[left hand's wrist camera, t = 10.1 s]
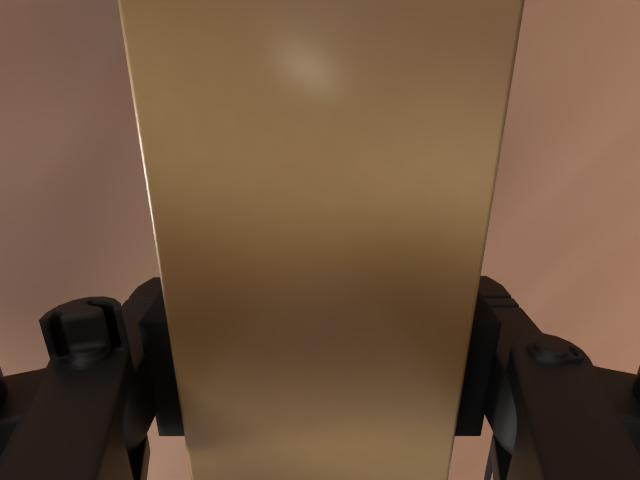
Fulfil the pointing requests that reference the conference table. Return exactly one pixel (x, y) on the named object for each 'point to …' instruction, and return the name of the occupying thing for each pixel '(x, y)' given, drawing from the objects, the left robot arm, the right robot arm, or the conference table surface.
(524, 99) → the conference table surface
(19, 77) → the conference table surface
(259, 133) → the post
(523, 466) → the left robot arm
